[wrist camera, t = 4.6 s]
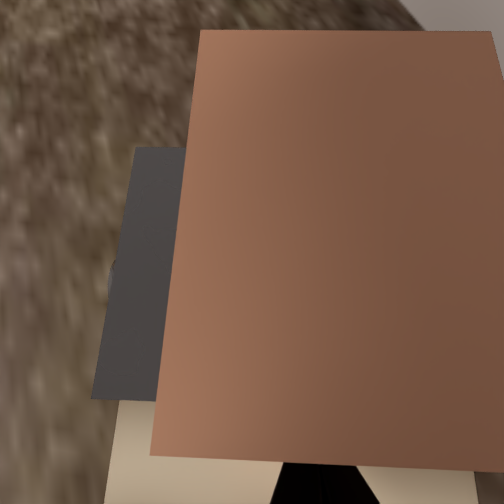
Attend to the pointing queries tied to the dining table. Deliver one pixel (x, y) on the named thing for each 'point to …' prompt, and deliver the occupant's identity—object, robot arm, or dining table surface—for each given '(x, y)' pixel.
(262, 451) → the peg post
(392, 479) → the base board
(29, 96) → the dining table surface
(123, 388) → the band block
